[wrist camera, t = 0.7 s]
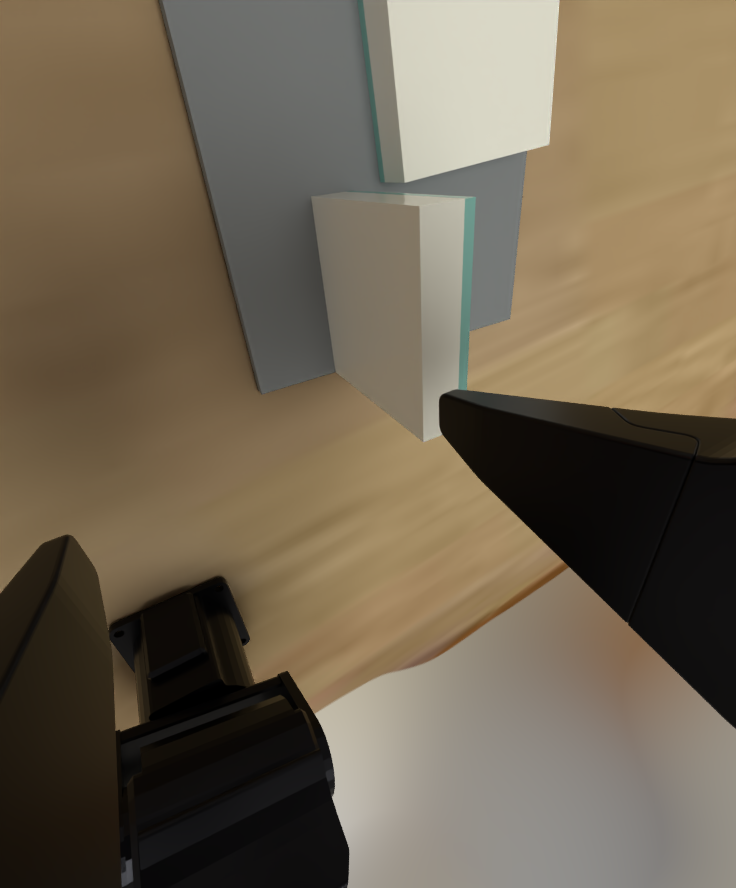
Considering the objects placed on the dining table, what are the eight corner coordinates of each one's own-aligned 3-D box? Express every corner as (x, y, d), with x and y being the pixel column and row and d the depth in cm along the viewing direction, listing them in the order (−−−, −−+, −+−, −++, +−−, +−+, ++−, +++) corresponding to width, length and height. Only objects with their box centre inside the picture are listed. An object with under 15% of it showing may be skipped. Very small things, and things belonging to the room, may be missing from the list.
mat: (503, 316, 27) (510, 318, 27) (258, 389, 22) (261, 394, 21) (537, -59, 18) (548, -64, 18) (132, -101, 13) (134, -110, 12)
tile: (368, 361, 23) (465, 425, 17) (335, 372, 23) (423, 442, 17) (353, 190, 19) (475, 196, 13) (310, 196, 18) (419, 206, 12)
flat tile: (517, 146, 22) (549, 144, 20) (380, 182, 19) (404, 182, 18) (526, -99, 17) (568, -125, 15) (345, -93, 14) (374, -125, 13)
